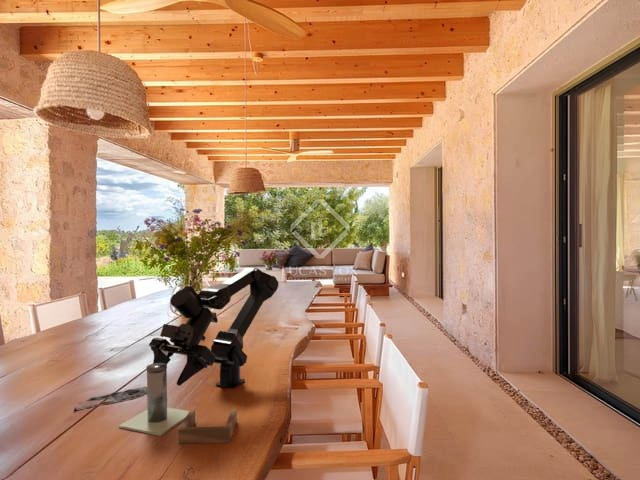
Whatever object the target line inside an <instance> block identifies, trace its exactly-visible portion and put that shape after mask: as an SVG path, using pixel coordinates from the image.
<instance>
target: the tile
mask: <svg viewBox="0 0 640 480" xmlns="http://www.w3.org/2000/svg"><path fill="white" fill-rule="evenodd" d="M189 411H190V410H185V409H178V408H173V407H169V406H167V419H166V420H164V421H161V422H157V423H151V422H149V421H148V408H146V409H145V410H143V411H142V412H140V413H139V414H136V415H134V416H133V417H131V418H129V419H127V421H124V422H123V423H120V424H119V425H118V427H119V428H120V429H124V430H129V431H132V432H133V431H134V432H140V433H142V434H144V433H145V434H148V435H149V434H150V435H153V436H158V437H162V436H163V435H165V434H166V433H167V432H168V431H170V430H171V429H173V428H174V427H176V426H178V425H179V424H181V423H183V421H184V419H185V418H186V416H187V414H188V413H189Z"/></svg>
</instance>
